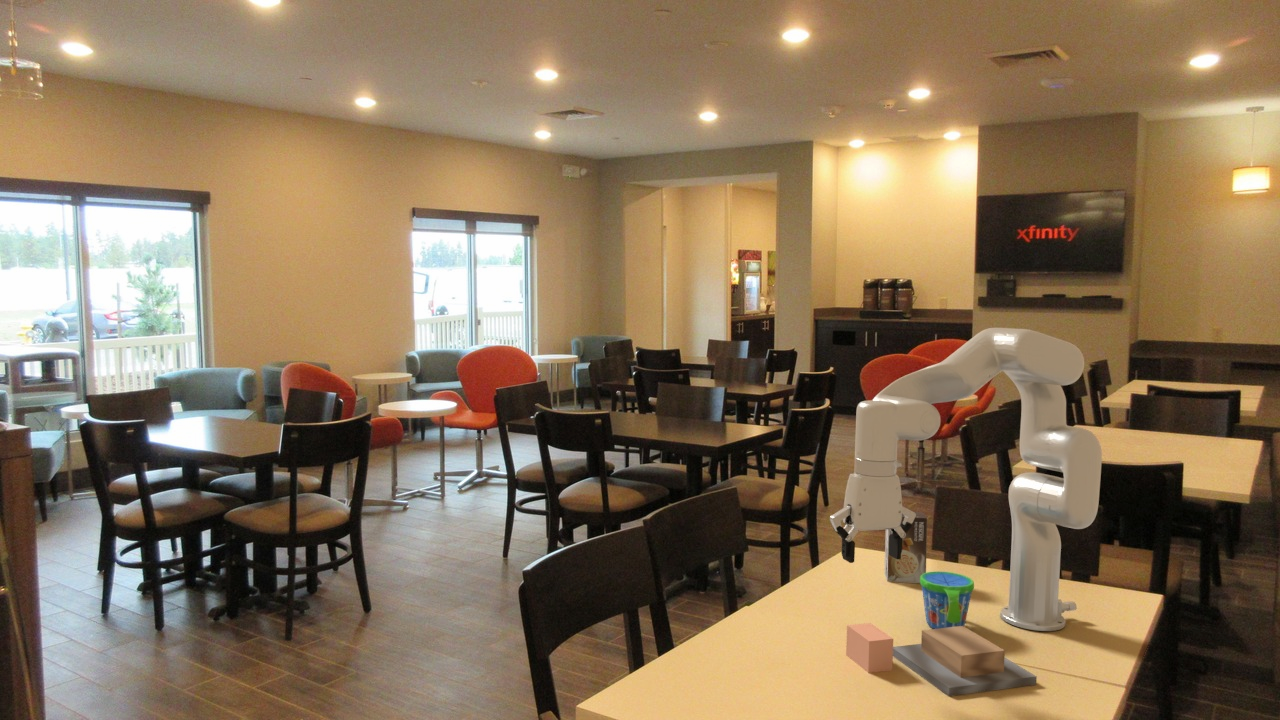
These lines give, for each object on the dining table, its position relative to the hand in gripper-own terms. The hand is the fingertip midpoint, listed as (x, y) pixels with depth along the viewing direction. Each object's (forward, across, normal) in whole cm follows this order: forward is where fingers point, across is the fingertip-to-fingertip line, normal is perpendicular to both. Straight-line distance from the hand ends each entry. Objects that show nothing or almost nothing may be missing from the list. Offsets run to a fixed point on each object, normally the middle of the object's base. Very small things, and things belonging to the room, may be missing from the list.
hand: (871, 559), depth 164 cm
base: (+20, -15, +7) cm, 26 cm away
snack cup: (+20, -25, -12) cm, 34 cm away
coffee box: (+20, -34, -41) cm, 57 cm away
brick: (+20, 0, 0) cm, 20 cm away
